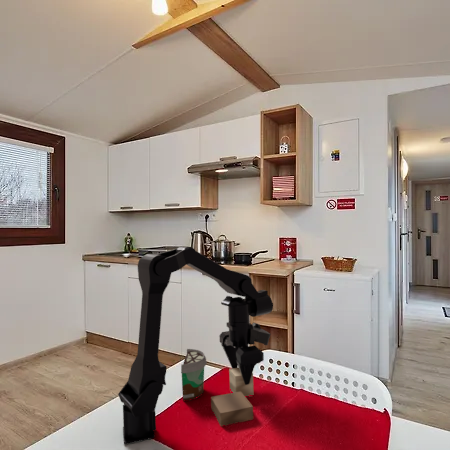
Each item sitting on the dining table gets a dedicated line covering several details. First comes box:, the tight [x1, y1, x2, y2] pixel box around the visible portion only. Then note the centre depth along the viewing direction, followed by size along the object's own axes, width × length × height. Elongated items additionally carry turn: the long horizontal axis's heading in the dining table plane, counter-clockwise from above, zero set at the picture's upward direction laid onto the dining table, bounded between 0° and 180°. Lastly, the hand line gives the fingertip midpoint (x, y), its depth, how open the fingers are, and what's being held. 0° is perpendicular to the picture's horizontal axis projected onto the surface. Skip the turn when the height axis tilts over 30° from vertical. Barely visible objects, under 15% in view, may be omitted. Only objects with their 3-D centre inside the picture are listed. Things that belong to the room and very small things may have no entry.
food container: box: [180, 348, 208, 402], centre depth 96 cm, size 12×6×10 cm, turn 179°
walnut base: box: [210, 391, 254, 427], centre depth 84 cm, size 8×8×3 cm
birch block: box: [228, 367, 255, 397], centre depth 95 cm, size 5×5×6 cm
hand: (240, 377), depth 95 cm, fingers open, 9 cm apart
